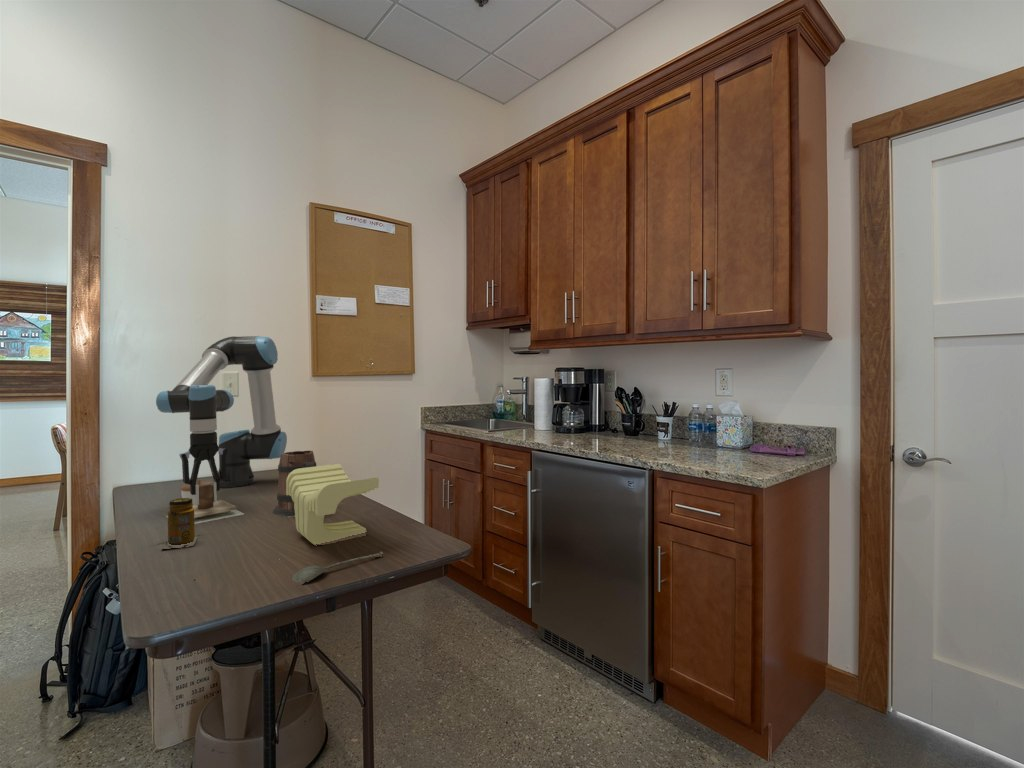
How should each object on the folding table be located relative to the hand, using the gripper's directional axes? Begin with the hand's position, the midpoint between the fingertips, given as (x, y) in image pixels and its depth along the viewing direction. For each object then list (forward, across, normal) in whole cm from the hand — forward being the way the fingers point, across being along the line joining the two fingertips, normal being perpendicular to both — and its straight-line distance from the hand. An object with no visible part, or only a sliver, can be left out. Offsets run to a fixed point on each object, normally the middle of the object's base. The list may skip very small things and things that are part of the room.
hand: (205, 502), depth 160 cm
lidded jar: (+5, -3, -18) cm, 19 cm away
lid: (+3, 0, 0) cm, 3 cm away
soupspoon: (+5, -6, +77) cm, 77 cm away
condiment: (+5, +13, +26) cm, 30 cm away
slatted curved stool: (+5, -17, +52) cm, 55 cm away
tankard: (+5, -23, +20) cm, 31 cm away
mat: (+5, 0, 0) cm, 5 cm away
